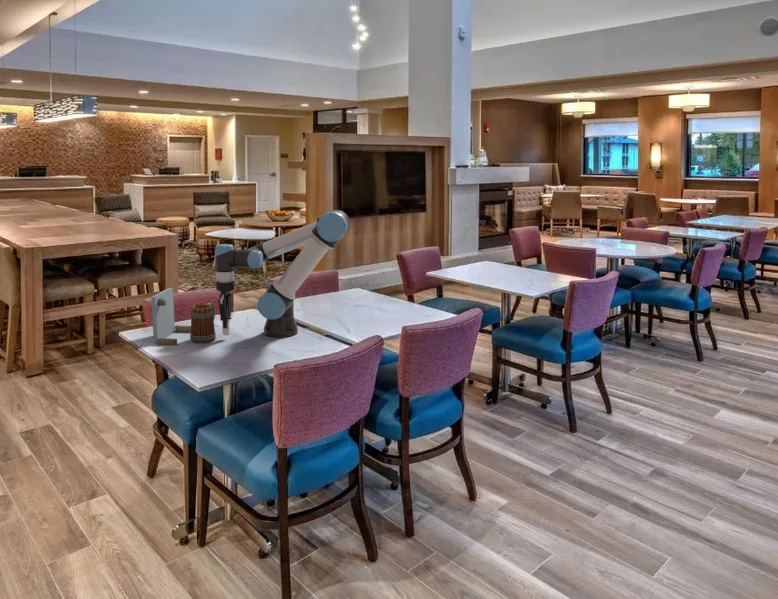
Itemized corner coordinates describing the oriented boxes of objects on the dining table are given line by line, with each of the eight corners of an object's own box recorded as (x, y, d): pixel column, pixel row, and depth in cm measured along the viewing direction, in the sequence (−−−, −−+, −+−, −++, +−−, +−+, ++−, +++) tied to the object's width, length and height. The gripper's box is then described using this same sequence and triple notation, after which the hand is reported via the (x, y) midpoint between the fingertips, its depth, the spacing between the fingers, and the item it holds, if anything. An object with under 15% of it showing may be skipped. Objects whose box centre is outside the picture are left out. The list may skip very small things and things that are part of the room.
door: (180, 331, 281) (178, 287, 277) (163, 344, 262) (160, 297, 257) (171, 331, 281) (169, 287, 277) (153, 343, 262) (151, 296, 258)
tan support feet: (193, 331, 282) (193, 326, 282) (176, 345, 260) (175, 339, 260) (176, 330, 282) (175, 325, 282) (157, 344, 260) (156, 338, 260)
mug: (208, 344, 263) (207, 309, 260) (185, 342, 265) (184, 307, 262) (225, 335, 278) (224, 302, 275) (203, 333, 280) (202, 300, 277)
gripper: (220, 277, 272) (221, 330, 277) (211, 283, 259) (213, 338, 264) (237, 278, 272) (238, 331, 277) (229, 284, 259) (230, 339, 264)
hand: (226, 334), depth 271 cm, fingers closed
